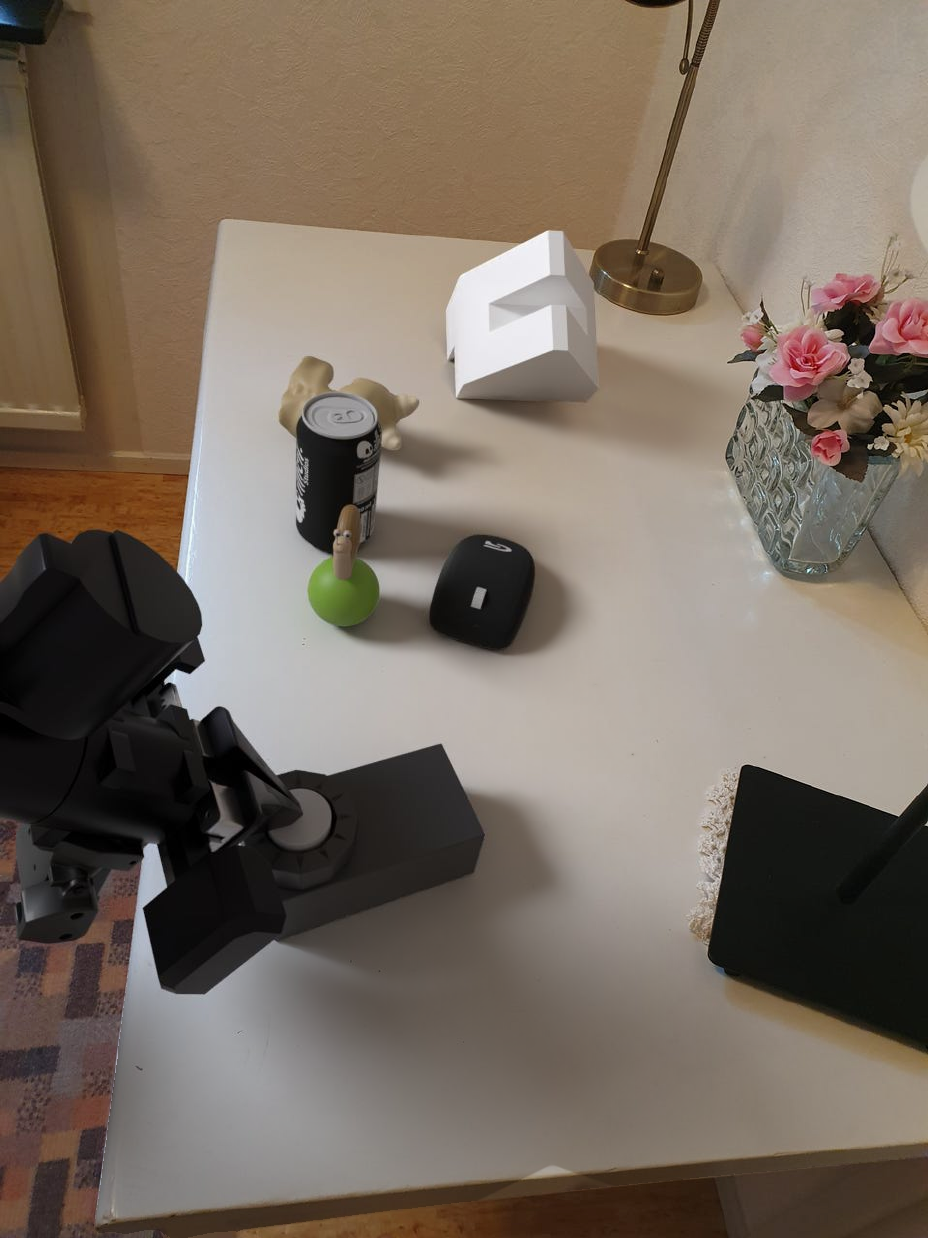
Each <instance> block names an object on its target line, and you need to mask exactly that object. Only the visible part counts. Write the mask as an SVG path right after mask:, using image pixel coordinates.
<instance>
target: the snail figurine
mask: <svg viewBox="0 0 928 1238" xmlns="http://www.w3.org/2000/svg"><path fill="white" fill-rule="evenodd" d="M360 534H361V518H360V511H359V509H358V508H357V507H356V506H355V505H347V506H345V507H344V508H343V509H342V511H341V514H340V517H339V521H338V526H337V529H336V530H334V536H336V537H335V541H334V544H333V549H334V551H333V552H332V553H333V554H332V556H331V557H328V558H326V559H324V560H323V561H322V562H319V564H318V565H317V566H316V567H315V569H314V570H313V571H312V573H311V575H310V577H309V580H308V583H307V585H308V586H307V596H308V601H309V604H310V607H311V608H312V610H313V611H314V613H315V614H316V615H317V616H318V617H319V618H320V619H321V620H323V621H324V622H326V623H328V624H330V625H333V626H336V627H350V626H351V627H352V626H355V625H358V624H360V623H362V622H364V621H365V620H366V619H368V618H369V617H370V616H371V615H372V614H373V612H374V611H375V609H376V608H377V605H378V603H379V599H380V591H381V590H380V589H381V588H380V583H379V578H378V577H377V574H376V573H375V571H374V569H373V568H372V567H371V566H370V565H369V564H368V563H367V562H366V561H364V560H363V559H361V558H359V557H357V554H358V551H359V547H360V546H359V542H360Z"/></svg>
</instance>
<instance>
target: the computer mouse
mask: <svg viewBox="0 0 928 1238" xmlns="http://www.w3.org/2000/svg"><path fill="white" fill-rule="evenodd" d="M535 579H536V564H535V560H534V558H533V555H532V554H531V552H530V551H529V550H528V549H527V548H526V547H524V546H523V545H522V544H519V543H518V542H516V541H514V540H510V539H507V538H505V537H501V536H497V535H496V536H495V535H492V534H479V533H478V534H472V535H469V536H466V537H465V538H463V539H461V540H460V541H459V542H458V543H456V544H455V546H454V547H453V548H452V549H451V550H450V552H449V553H448V555H447V557H446V559H445V561H444V563H443V565H442V567H441V570H440V572H439V575H438V579H437V581H436V584H435V586H434V587H435V588H434V590H433V594H432V598H431V603H430V607H429V613H428V622H429V624H430V627H431V628H432V629H433V630H434V631H436V632H437V633H439V634H441V635H442V636H445V637H447V638H449V639H454V640H457V641H459V642H463V643H465V644H470V645H473V646H477V647H480V648H483V649H490V650H504V649H506V648H509V647H510V646H511V645H512V643H513V642H514V640H515V638H516V637H517V635H518V633H519V631H520V629H521V627H522V624H523V622H524V619H525V617H526V614H527V611H528V608H529V606H530V602H531V599H532V595H533V589H534V586H535Z"/></svg>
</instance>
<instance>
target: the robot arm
mask: <svg viewBox="0 0 928 1238" xmlns="http://www.w3.org/2000/svg"><path fill="white" fill-rule="evenodd" d="M202 628H203V616H202V611H201V608H200V605H199V603H198V601H197V599H196V597H195V595H194V593H193V591H192V589H191V588H190V587H189V585H188V583H187V582H186V580H185V579H184V578H183V576H182V575H180V573H179V572H178V571H177V570H176V569H175V567H174V566H173V565H171V564H170V563H169V562H168V561H167V560H166V559H165V558H164V557H163V556H162V555H161V554H160V553H158V552H157V551H155V550H154V549H153V548H152V547H150V546H148V544H146V543H145V542H144V541H141V540H140V539H137V538H136V537H134V536H133V535H131V534H129V533H127V532H124V531H122V530H120V529H114V530H113V532H112V531H108V530H103V529H87V530H84V531H81V532H79V533H78V534H76V536H74V537H73V539H72V540H71V541H70V542H69V541H67V540H65V539H62V538H60V537H58V536H55V535H53V534H51V533H49V532H42V533H38V534H37V535H36V536H35V537H34V538H33V539H32V540H31V541H30V542H29V543H28V544H27V545H26V546H25V548H24V549H23V550H22V551H21V552H20V553H19V555H18V556H17V558H16V560H15V562H14V564H13V566H12V567H11V569H10V571H9V572H8V573H7V574H6V575H5V577H3V578H2V579H1V580H0V820H1V821H6V822H12V823H18V825H17V829H16V834H15V855H16V862H17V863H16V864H17V870H18V878H19V883H20V884H19V885H20V895H19V896H20V901H18V902H16V903H15V905H14V907H13V913H14V920H15V929H16V937H17V940H18V941H25V942H33V943H40V944H45V945H46V944H48V945H51V944H52V945H53V944H59V943H60V944H61V943H68V942H74V941H77V940H79V939H81V938H83V937H85V936H86V935H87V933H88V932H89V931H90V929H91V928H92V925H93V924H94V922H95V920H96V918H97V916H98V914H99V912H100V909H99V905H98V903H99V901H100V899H101V896H100V892H101V890H102V888H103V887H104V885H105V883H106V881H107V879H108V877H109V876H110V874H111V872H112V870H115V871H120V872H121V871H122V872H130V871H131V870H132V869H134V867H135V866H137V865H138V864H139V863H140V862H141V861H142V860H143V859H144V858H145V852H144V850H143V849H144V848H146V847H147V845H149V844H151V845H156V847H157V851H158V854H159V859H160V863H161V868H162V871H163V872H162V873H163V877H164V880H165V884H166V887H165V888H164V889H163V890H162V891H161V892H159V893H158V894H157V895H156V896H155V897H153V898H152V899H151V900H150V901H149V902H148V903H146V904H145V905H144V906H143V907H142V912H143V916H144V920H145V925H146V929H147V930H146V931H147V934H148V939H149V942H150V948H151V952H152V956H153V961H154V966H155V970H156V975H157V980H158V982H159V986H160V989H161V990H164V991H166V992H169V993H172V994H175V995H206V994H207V993H208V992H210V991H211V990H212V989H214V988H215V987H217V986H218V985H219V984H220V983H221V982H223V981H224V980H225V979H227V977H229V976H230V975H232V973H234V972H235V971H237V970H238V969H239V968H240V967H242V966H243V965H244V964H245V963H247V962H248V961H249V960H250V959H252V958H254V956H255V955H257V954H258V953H260V952H261V951H262V950H263V949H265V948H266V947H267V946H268V945H269V944H271V943H272V942H274V941H275V940H274V939H276V938H277V937H278V936H280V935H281V934H282V931H283V927H284V923H285V920H286V916H287V915H286V912H285V908H284V905H283V902H282V899H281V896H280V893H279V890H278V887H277V883H276V880H275V877H274V874H273V871H272V868H271V865H270V864H269V863H268V862H267V861H266V860H265V859H264V858H263V857H262V856H261V855H260V854H259V853H258V852H257V851H256V850H255V849H254V848H252V847H247V846H241V844H240V843H241V842H242V841H243V840H244V839H245V838H247V837H250V836H253V835H257V834H260V833H264V832H268V831H271V830H275V829H278V828H282V827H285V826H289V825H291V824H293V823H294V822H296V821H297V820H298V819H299V818H300V817H302V816H303V812H302V809H301V806H300V803H299V802H298V800H297V799H296V798H295V797H294V796H293V794H292V793H291V792H290V791H289V790H288V789H287V787H286V786H285V785H284V784H283V783H282V782H281V780H280V779H279V778H278V777H277V776H276V775H277V774H276V773H275V772H274V771H273V770H272V769H271V767H270V766H269V765H268V763H267V762H266V761H265V760H264V759H263V757H262V756H261V755H260V754H259V752H258V751H257V750H256V748H255V747H254V746H253V745H252V743H251V742H250V741H249V740H248V738H247V737H246V736H245V734H244V732H243V731H242V730H241V729H240V728H239V727H238V724H236V723H235V721H234V719H233V718H232V714H231V712H230V711H229V709H228V708H226V707H224V706H221V705H218V706H215V707H214V708H213V709H212V710H211V711H210V712H208V713H207V714H206V715H205V716H204V717H203V718H202V719H200V720H199V719H195V718H190V714H189V712H188V709H187V708H186V707H183V704H182V701H181V697H180V695H179V691H178V688H177V685H176V684H175V683H174V682H170V681H168V682H165V681H166V679H167V678H169V677H170V676H171V675H172V674H173V673H174V672H175V671H179V672H182V673H185V674H187V675H191V674H192V673H193V672H195V671H196V670H198V668H199V667H200V666H201V665H203V664H204V663H205V662H206V659H205V656H204V652H203V649H202V646H201V643H200V640H199V636H200V634H201V631H202Z"/></svg>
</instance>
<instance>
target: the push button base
mask: <svg viewBox="0 0 928 1238" xmlns="http://www.w3.org/2000/svg"><path fill="white" fill-rule="evenodd" d="M276 776H277V777H278V778H279V779H280V780H281V782H282V783H283V784H284V785H285V786H286V787H287V789H288V790H293V789H308V790H311V791H314V792H316V793H318V794H319V795H321V796H322V797H323V798H324V799H325V800H326V801H327V803H328V804H329V807H330V809H331V834H330V838H329V839H328V840H327V841H326V842H325V843H324V844H323V845H322V846H321V847H320V848H318V849H315V850H311V851H308V852H305V853H302V854H296V853H290V852H284V851H280V850H279V849H278V848H277V847H275V846H274V845H273V844H272V843H270V842H269V841H268V839H267V832H264V833H260V834H257V835H253V836H250V837H247V838H245V839H244V840H243V841H242V842H241V843H240V844H239V845H241V846H247V847H252V848H254V849H255V850H256V851H257V852H258V853H259V854H260V855H261V856H262V857H263V858H264V859H265V860H266V861H267V862H268V863H269V864H270V865H271V868H272V871H273V874H274V877H275V880H276V883H277V887H278V890H279V893H280V896H281V899H282V902H283V905H284V908H285V912H286V915H287V916H286V920H285V923H284V927H283V931H282V934H281V935H280V936H278V937H277V938H276V939H274V940H273V941H275V942H278V941H281V940H284V939H287V938H290V937H293V936H295V935H298V934H301V933H304V932H307V931H311V930H313V929H316V928H319V927H322V926H325V925H327V924H330V923H332V922H336V921H339V920H343V919H345V918H348V917H350V916H353V915H357V914H359V913H362V912H364V911H365V912H366V911H368V910H371V909H374V908H377V907H379V906H383V905H385V904H389V903H391V902H394V901H398V900H401V899H404V898H406V897H409V896H412V895H414V894H418V893H420V892H424V891H426V890H428V889H432V888H435V887H438V886H441V885H443V884H446V883H450V882H453V881H455V880H458V879H461V878H464V877H467V876H470V875H473V874H474V873H475V871H476V868H477V865H478V861H479V859H480V858H479V857H480V854H481V851H482V848H483V845H484V841H485V838H486V832H485V830H484V828H483V825H482V824H481V822H480V820H479V817H478V816H477V813H476V811H475V810H474V807H473V805H472V803H471V801H470V799H469V797H468V795H467V793H466V791H465V789H464V787H463V785H462V783H461V781H460V779H459V777H458V774H457V773H456V770H455V769H454V766H453V764H452V761H451V760H450V758H449V756H448V753H447V752H446V750H445V748H444V746H443V744H442V743H437V744H434V745H431V746H426V747H423V748H420V749H415V750H412V751H409V752H406V753H402V754H399V755H395V756H391V757H388V758H385V759H381V760H378V761H374V762H370V763H366V764H363V765H360V766H356V767H352V768H350V769H345V770H342V771H339V772H335V773H332V774H328V775H327V774H325V773H319V772H314V771H307V770H301V769H293V770H290V771H287V772H283V773H279V774H276Z"/></svg>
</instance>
